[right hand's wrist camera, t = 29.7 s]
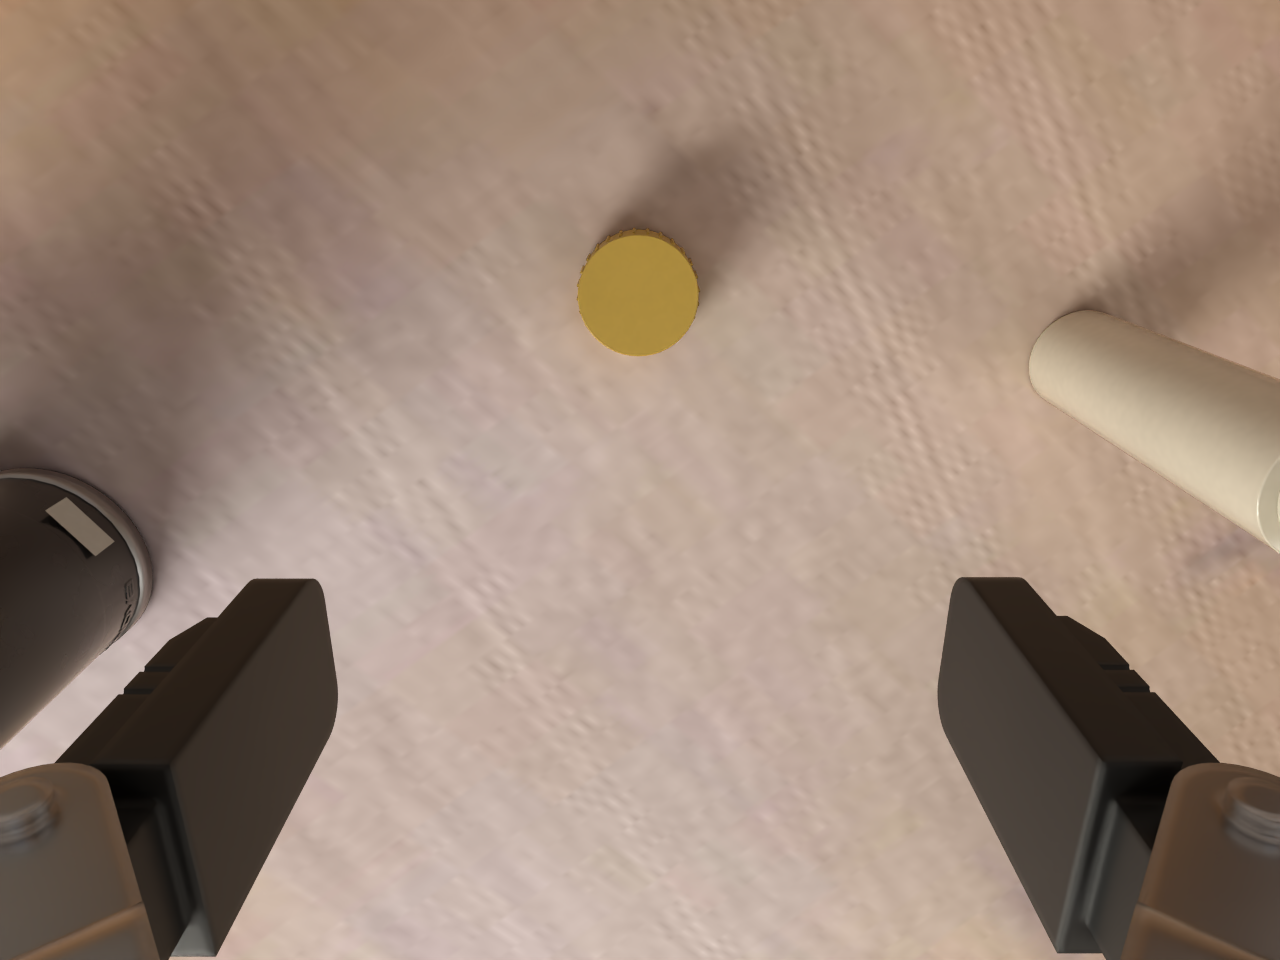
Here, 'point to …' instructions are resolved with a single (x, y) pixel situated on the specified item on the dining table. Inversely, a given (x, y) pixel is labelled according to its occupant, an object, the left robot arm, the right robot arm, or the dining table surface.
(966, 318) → the dining table surface
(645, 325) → the lid
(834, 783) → the dining table surface
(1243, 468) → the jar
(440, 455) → the dining table surface
